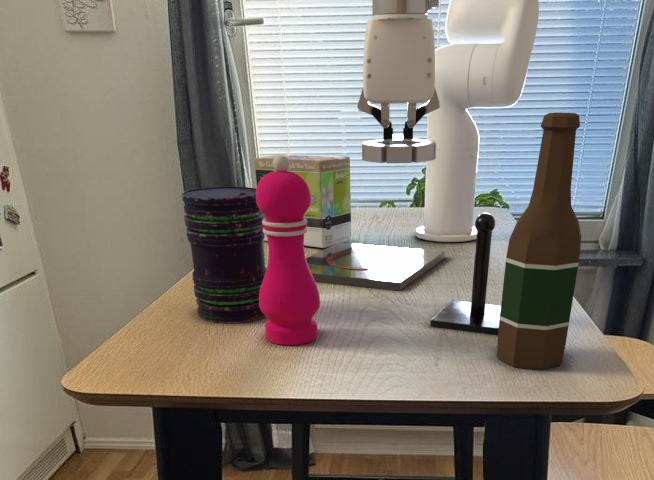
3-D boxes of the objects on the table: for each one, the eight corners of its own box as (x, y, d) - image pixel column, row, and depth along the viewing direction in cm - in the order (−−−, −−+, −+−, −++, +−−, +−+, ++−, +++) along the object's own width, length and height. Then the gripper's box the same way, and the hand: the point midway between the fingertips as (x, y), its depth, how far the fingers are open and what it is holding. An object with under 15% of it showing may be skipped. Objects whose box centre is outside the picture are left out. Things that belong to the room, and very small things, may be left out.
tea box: (353, 240, 129) (352, 155, 121) (323, 250, 121) (320, 160, 114) (290, 232, 136) (286, 151, 128) (259, 241, 128) (252, 156, 121)
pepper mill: (312, 349, 77) (304, 158, 67) (253, 345, 79) (236, 157, 68) (327, 329, 84) (322, 151, 73) (272, 325, 85) (259, 151, 74)
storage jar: (182, 318, 88) (164, 196, 80) (222, 298, 95) (209, 185, 88) (248, 326, 84) (236, 200, 77) (284, 305, 92) (276, 188, 85)
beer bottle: (486, 347, 78) (509, 111, 65) (552, 344, 78) (587, 110, 66) (505, 372, 71) (534, 115, 59) (576, 369, 72) (619, 114, 59)
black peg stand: (452, 305, 92) (458, 204, 85) (521, 313, 88) (533, 209, 82) (430, 326, 84) (435, 217, 78) (504, 335, 81) (517, 222, 74)
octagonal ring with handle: (436, 162, 88) (437, 146, 87) (361, 163, 88) (361, 146, 87) (430, 148, 102) (430, 133, 101) (365, 149, 103) (365, 134, 102)
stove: (339, 249, 122) (339, 241, 122) (444, 258, 115) (445, 250, 115) (280, 277, 105) (280, 269, 104) (399, 290, 98) (400, 281, 98)
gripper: (455, 8, 93) (448, 154, 103) (343, 10, 94) (346, 155, 104) (460, 4, 87) (452, 160, 97) (340, 6, 87) (344, 161, 97)
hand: (397, 156), depth 100 cm, fingers closed on octagonal ring with handle, 1 cm apart
